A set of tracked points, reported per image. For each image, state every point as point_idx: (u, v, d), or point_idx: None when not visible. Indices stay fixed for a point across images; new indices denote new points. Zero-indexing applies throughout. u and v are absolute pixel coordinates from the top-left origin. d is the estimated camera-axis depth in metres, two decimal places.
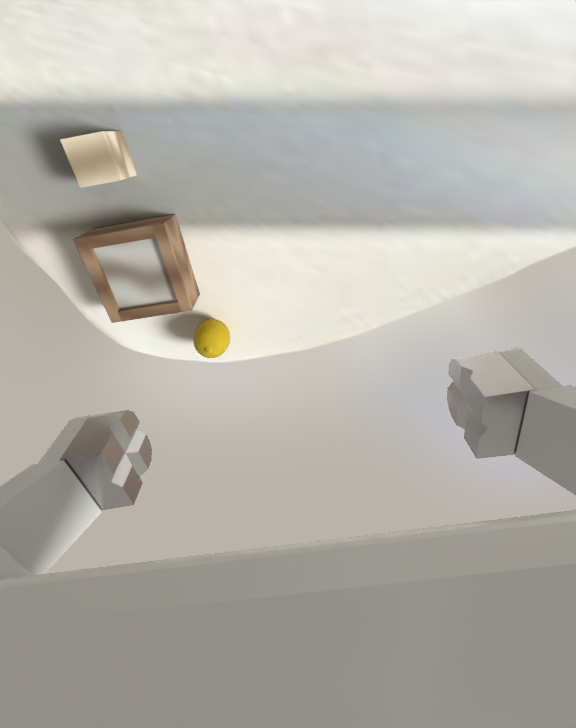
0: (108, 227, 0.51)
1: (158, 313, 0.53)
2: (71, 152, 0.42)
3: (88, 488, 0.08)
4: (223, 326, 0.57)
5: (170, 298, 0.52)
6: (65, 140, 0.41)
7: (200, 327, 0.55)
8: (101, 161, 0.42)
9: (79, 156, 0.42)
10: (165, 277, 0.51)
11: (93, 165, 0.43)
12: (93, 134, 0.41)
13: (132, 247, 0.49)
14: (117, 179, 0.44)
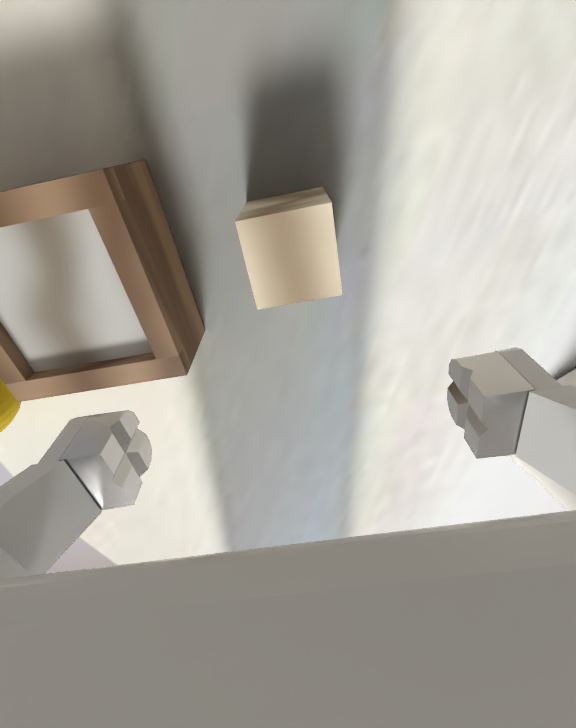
0: (155, 209, 0.23)
1: None
2: (305, 222, 0.19)
3: (88, 488, 0.08)
4: (10, 422, 0.29)
5: (30, 356, 0.24)
6: (329, 214, 0.19)
7: None
8: (290, 281, 0.21)
9: (298, 236, 0.19)
10: (75, 352, 0.24)
11: (281, 263, 0.20)
12: (337, 277, 0.20)
13: (122, 299, 0.22)
14: (258, 305, 0.21)
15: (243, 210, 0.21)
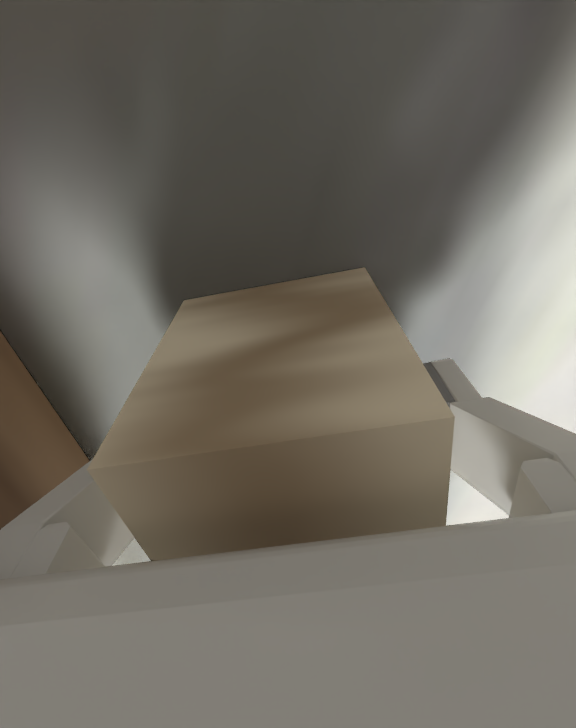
0: None
1: None
2: (348, 469, 0.05)
3: None
4: None
5: None
6: (438, 450, 0.05)
7: None
8: None
9: (320, 501, 0.06)
10: None
11: None
12: None
13: None
14: None
15: (156, 358, 0.07)
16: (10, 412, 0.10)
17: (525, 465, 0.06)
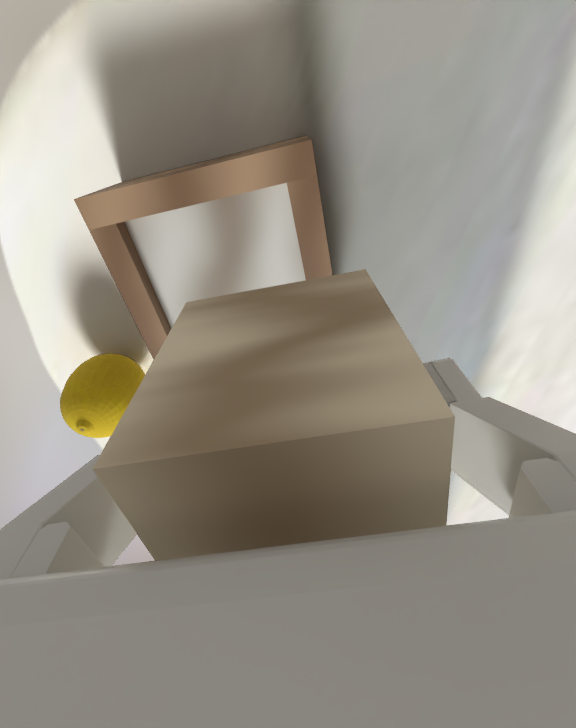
0: None
1: (140, 324, 0.22)
2: (350, 469, 0.05)
3: None
4: None
5: None
6: (438, 449, 0.05)
7: (127, 384, 0.26)
8: None
9: (322, 500, 0.06)
10: None
11: None
12: None
13: (290, 278, 0.21)
14: None
15: (159, 359, 0.08)
16: None
17: (525, 465, 0.06)
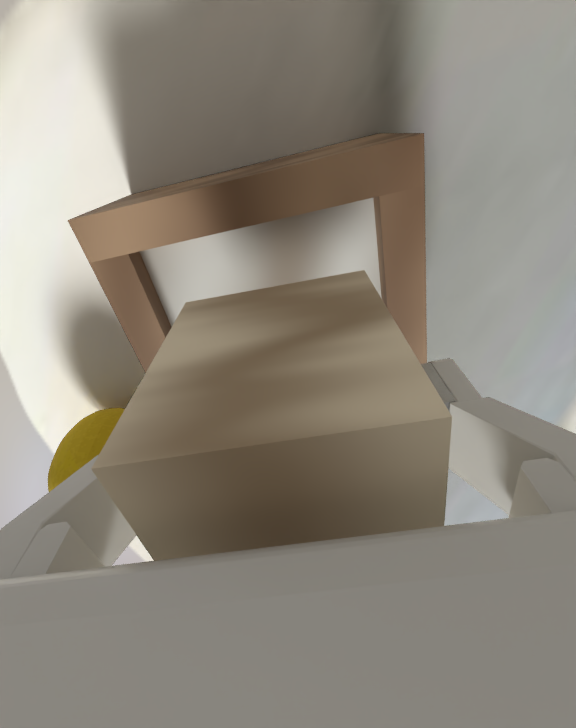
0: None
1: None
2: (347, 469, 0.05)
3: None
4: None
5: None
6: (436, 449, 0.05)
7: None
8: None
9: (319, 500, 0.06)
10: None
11: None
12: None
13: None
14: None
15: (158, 360, 0.08)
16: None
17: (525, 465, 0.06)
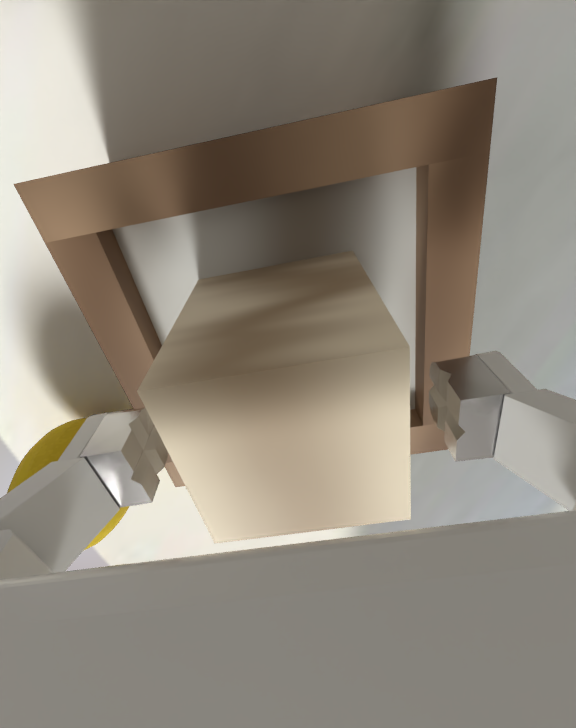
0: None
1: (136, 399, 0.13)
2: (333, 391, 0.07)
3: (107, 485, 0.08)
4: None
5: None
6: (399, 374, 0.07)
7: None
8: (289, 499, 0.09)
9: (312, 420, 0.07)
10: None
11: (267, 471, 0.08)
12: (404, 492, 0.08)
13: None
14: (216, 536, 0.09)
15: (180, 321, 0.09)
16: None
17: None
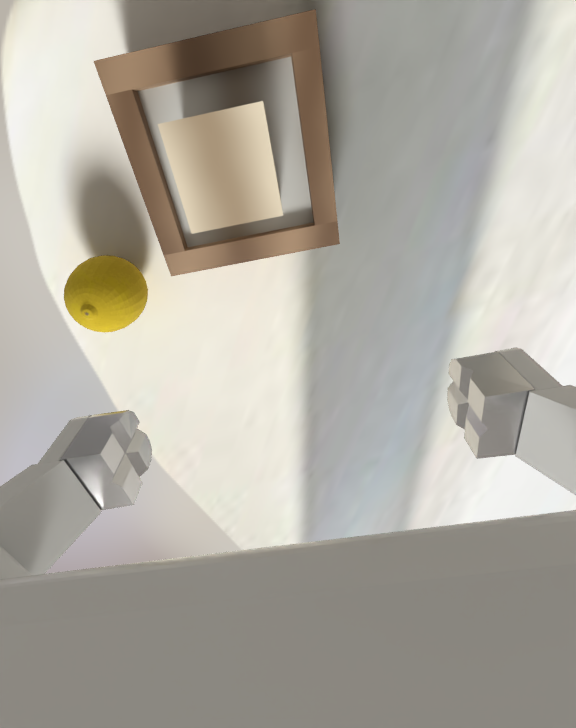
0: None
1: (149, 202, 0.23)
2: (236, 126, 0.17)
3: (88, 488, 0.08)
4: None
5: (187, 228, 0.25)
6: (261, 116, 0.17)
7: (130, 278, 0.27)
8: (225, 198, 0.19)
9: (229, 143, 0.17)
10: None
11: (213, 177, 0.18)
12: (276, 194, 0.19)
13: (291, 162, 0.23)
14: (192, 228, 0.19)
15: None
16: None
17: None
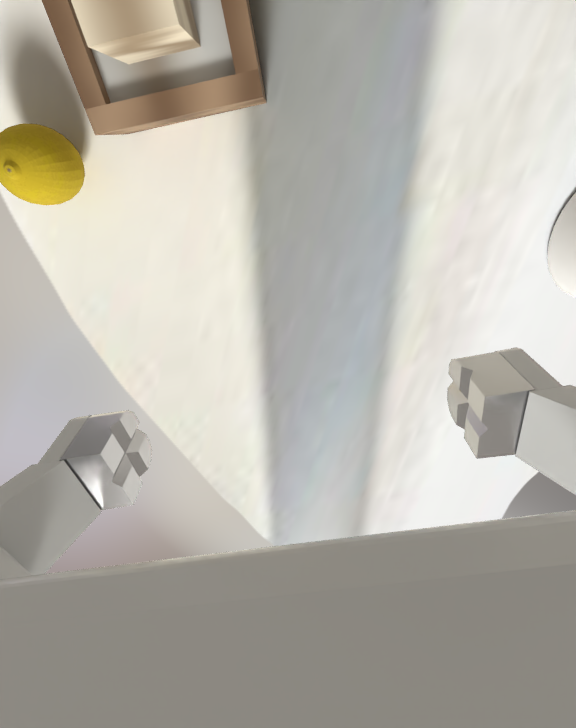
0: None
1: (63, 44, 0.23)
2: None
3: (88, 488, 0.08)
4: (75, 192, 0.30)
5: (109, 82, 0.25)
6: None
7: (59, 145, 0.27)
8: (116, 1, 0.18)
9: None
10: (154, 77, 0.25)
11: None
12: None
13: (207, 1, 0.23)
14: (88, 40, 0.19)
15: None
16: None
17: None
